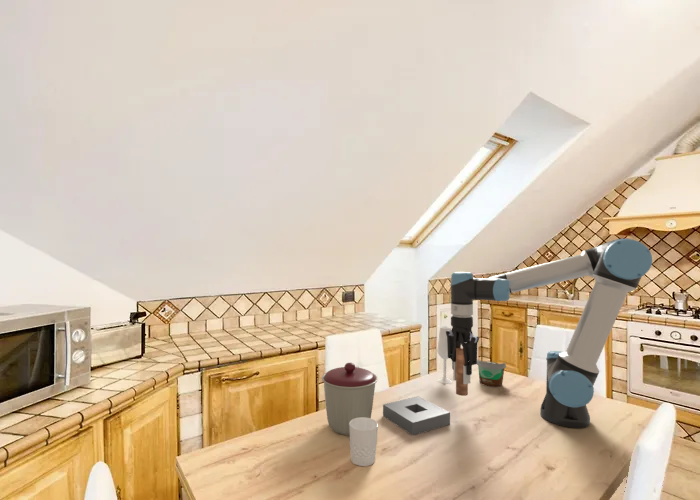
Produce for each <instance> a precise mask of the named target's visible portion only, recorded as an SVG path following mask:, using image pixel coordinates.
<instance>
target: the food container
mask: <svg viewBox="0 0 700 500" xmlns="http://www.w3.org/2000/svg"><path fill="white" fill-rule="evenodd" d="M476 365H477V367H478V377H479V383H480V384H481V385H483V386H485V387H490V388H500V387H502V386H503V380H504V373H505V369H506V368H507V365H506V362H503V363H498V362H494V361H485V360H479V359H477V364H476Z"/></svg>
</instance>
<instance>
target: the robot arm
mask: <svg viewBox="0 0 700 500" xmlns="http://www.w3.org/2000/svg"><path fill="white" fill-rule="evenodd" d="M652 265H653V256H652V253H651V251H650V249H649V248H648V247H647V246H646V245H645V244H644V243H643V242H640V241H639V240H635V239H632V238H618V239H613V240H609V241H607V242H605V243H602V244H600V245H597V246H595V247H592V248H588V249H584V250H583V251H582V252H581V254H578V255H577V254H576V255H573V256H568V257H565V258H562V259H557V260H553V261H550V262H549V261H548V262H545V263H542V264H538V265H533V266H528V267H525V268H522V269H517V270H514V271H513V270H512V271H510V272H506V273H501V274H497V275H492V276H489V277H488V278H487V277H486V278H481V277H479V278H478V277H474V276H473V275H474V273H473V272H469V271H467V272H466V271H455V272H454V271H453V272H452V273H451V275H450V276H451V277H450V314H451V316H450V325H451V326H450V327H451V330H450V331H446V335H447V348H448V359H450V360H451V362H452V365H451V366H452V370H453V371H452V372H453V373H452V374H453V380H452V381H455V382H456V348H458V347H463V352H464V359H465V364H464V365H463V384H471V375H472V374H473V372H472V371H473V370H472V369H473V368H472V367H473V366H474V365H475V366H476V365H477V360H478V343H479V340H480V337H479V336H478V335H477V336H475V334H473V330H472V328H473V326H474V317H473V316H474V302H473V301H474V300H475V301H476V300H478V301H479V300H480V301H482V300H483V301H494V302H508V301H509V300H510V296H511V295H510V294H512V293H517V292H522V291H526V290H529V289H530V290H531V289H536V288H540V287H544V286H549V285H553V284H557V283H561V282H566V281H570V280H575V279H580V278H584V277H591V278H593V279H594V282H595V283H594V285H593V287H592V290H591V292H590V294H589V297H588V299H587V301H586V304H585V305H584V307H583V311H582V313H581V315H580V318H579V320H578V322H577V324H576V327H575V330H574V331H573V334H572V336H571V338H570V341H569V344H568V345H567V348H566V350H565V351H561V350H560V351H557V350H550V351H548V352H547V353H546V358H545V359H546V360H545V361H546V386H545V387H546V390H545V395H544V398H543V400H542V403H541V405H540V412H539V413H540V417H542V418H543V419H544V420H546V421H548V422H550V423H551V424H555V425H558V426H561V427H564V428H565V427H566V428H572V429H583V428H588V427H590V424H591V417H590V413H589V410H588V407H587V405H588V404H589V403H590V402H591V401H592V399H593V397H594V393H595V388H594V385H595V383H596V381H597V379H598V376H599V373H600V370H599V367H598V365H597V364H598V361H599V359H600V356H601V354H602V352H603V350H604V347H605V345H606V343H607V341H608V338H609V336H610V334H611V331H612V330H613V327H614V324H615V322H616V320H617V318H618V316H619V313H620V311H621V309H622V306H623V304H624V302H625V300H626V298H627V295H628V293H630V292H632V291H636V290H637V288H638V286H639V283H640V281H641V279H642V277H644V276H645V275H646V274H647V273H648V272H649V271H650V270H651V267H652Z"/></svg>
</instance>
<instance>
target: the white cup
mask: <svg viewBox="0 0 700 500" xmlns="http://www.w3.org/2000/svg"><path fill="white" fill-rule="evenodd" d="M378 427H379V424H378V421H376V420H375V419H374V418H372V417H371V418H366V417H360V418H355V419H352V420H351V421H350V423H349V430H350V435H349V447H350V448H349V449H350V462H352V464H354V465H356V466H358V467H359V466H360V467H368V466H372V465H373V464H374V463H375V462H376V451H377V445H378V443H377V442H378Z"/></svg>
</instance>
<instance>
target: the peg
mask: <svg viewBox="0 0 700 500" xmlns="http://www.w3.org/2000/svg"><path fill="white" fill-rule="evenodd" d="M464 364H465V359H464V352H463V346H461V347H458V348H456V381H455V394H456V395H458V396H462V397H463V396H464V397H465V396H468V394H469V391H468V390H469V389H468V388H469V385H468V384H463V365H464Z"/></svg>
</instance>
